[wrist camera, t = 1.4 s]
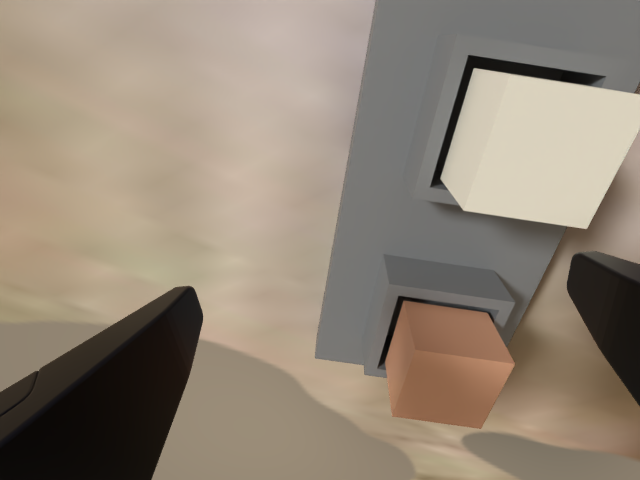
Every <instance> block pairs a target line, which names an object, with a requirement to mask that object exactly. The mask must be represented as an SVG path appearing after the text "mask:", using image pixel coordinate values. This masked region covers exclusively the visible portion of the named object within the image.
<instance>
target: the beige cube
mask: <svg viewBox="0 0 640 480" xmlns="http://www.w3.org/2000/svg"><path fill="white" fill-rule="evenodd" d="M639 129H640V94H634V93H628V92H622V91H617V90H611V89H605V88H599V87H593V86H587V85H580V84H574V83H567V82H561V81H555V80H548V79H542V78H535V77H529V76H522V75H516V74H509V73H503V72H497V71H490V70H484V69H477V68H474V69H473V72H472V76H471V79H470V82H469V86H468V89H467V92H466V96H465V99H464V102H463V105H462V109H461V112H460V115H459V119H458V122H457V125H456V129H455V132H454V135H453V139H452V142H451V145H450V149H449V152H448V155H447V158H446V162H445V165H444V168H443V172H442V175H441V178H440V179H441V180H442V182H443V183H444V184H445V186H446V187H447V189H448V190H449V191H450V193H451V194H452V195H453V197H454V198H455V200H456V201H457V202H458V204H459V205H460V206H461V208H462V209H463V211H469V212H476V213H482V214H489V215H496V216H502V217H509V218H516V219H522V220H529V221H536V222H543V223H549V224H556V225H563V226H569V227H576V228H583V229H587V228H588V226H589V224H590V222H591V220H592V218H593V216H594V214H595V213H596V211H597V209H598V207H599V205H600V203H601V201H602V199H603V197H604V196H605V194H606V192H607V190H608V188H609V186H610V184H611V182H612V180H613V179H614V177H615V175H616V173H617V171H618V169H619V167H620V165H621V163H622V162H623V160H624V158H625V156H626V154H627V152H628V150H629V148H630V146H631V145H632V143H633V141H634V139H635V137H636V135H637V133H638V131H639Z"/></svg>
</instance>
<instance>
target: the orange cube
mask: <svg viewBox="0 0 640 480" xmlns="http://www.w3.org/2000/svg"><path fill="white" fill-rule="evenodd" d="M514 365H515V363H514V361H513V359H512V357H511V355H510V353H509V352H508V350H507V348H506V346H505V344H504V342H503V341H502V339H501V337H500V335H499V333H498V331H497V329H496V328H495V326H494V324H493V322H492V320H491V318H490V316H489V315H488V313H486V312H479V311H472V310H465V309H458V308H451V307H444V306H437V305H431V304H424V303H417V302H410V301H403V304H402V308H401V311H400V314H399V318H398V321H397V324H396V328H395V331H394V334H393V337H392V341H391V344H390V347H389V351H388V354H387V357H386V361H385V366H386V373H387V381H388V388H389V396H390V403H391V411H392V416H393V417H401V418H408V419H415V420H422V421H429V422H436V423H444V424H451V425H458V426H465V427H472V428H479V429H481V428H482V426H483V424H484V422H485V420H486V418H487V416H488V415H489V413H490V411H491V409H492V407H493V405H494V403H495V401H496V399H497V398H498V396H499V394H500V392H501V390H502V388H503V386H504V384H505V382H506V381H507V379H508V377H509V375H510V373H511V371H512V369H513V367H514Z"/></svg>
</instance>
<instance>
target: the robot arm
mask: <svg viewBox="0 0 640 480" xmlns="http://www.w3.org/2000/svg"><path fill="white" fill-rule="evenodd" d="M567 290H568V293H569V295H570V297H571V299H572V301H573V303H574V304H575V306H576V308H577V310H578V312H579V313H580V315H581V317H582V319H583V321H584V322H585V324H586V326H587V328H588V330H589V331H590V333H591V335H592V337H593V339H594V341H595V342H596V344H597V345H598V347H599V349H600V350H601V352H602V353H603V355H604V356H605V358H606V359H607V361H608V362H609V364H610V365H611V366H612V368H613V369H614V371H615V372H616V374H617V375H618V376H619V378H620V379H621V381H622V382H623V383H624V385H625V386H626V388H627V389H628V391H629V392H630V393H631V395H632V396H633V398H634V399H635V400H636V402H637V403H638V405H639V406H640V264H637V263H633V262H630V261H627V260H623V259H620V258H617V257H614V256H610V255H607V254H604V253H600V252H597V251H590V252H579V253H576V254H575V255H574V256H573V257H572V260H571V265H570V270H569V275H568V280H567ZM202 323H203V313H202V309H201V306H200V303H199V300H198V297H197V294H196V292H195V289H194V288H193V287H191V286H182V287H175V288H173V289H172V290H170V291H168V292H167V293H165V294H163V295H162V296H160V297H158V298H157V299H155V300H153V301H152V302H150V303H148V304H147V305H145V306H143V307H142V308H140V309H138V310H137V311H135V312H133V313H132V314H130V315H128V316H127V317H125V318H123V319H122V320H120V321H118V322H117V323H115V324H113V325H112V326H110V327H108V328H107V329H105V330H103V331H102V332H100V333H98V334H97V335H95V336H93V337H92V338H90V339H88V340H87V341H85V342H83V343H82V344H80V345H78V346H77V347H75V348H73V349H72V350H70V351H68V352H67V353H65V354H63V355H62V356H60V357H58V358H57V359H55V360H53V361H52V362H50V363H49V364H47V365H45V366H43V367H42V368H41V369H40V370H39V371H35V372H33V373H32V374H30V375H28V376H27V377H25V378H23V379H22V380H20V381H18V382H17V383H15V384H13V385H11V386H10V387H8V388H6V389H5V390H3V391H2V392H0V480H151V479H152V476H153V474H154V471H155V468H156V465H157V463H158V460H159V457H160V455H161V452H162V449H163V447H164V444H165V441H166V438H167V435H168V433H169V430H170V427H171V425H172V422H173V419H174V417H175V414H176V411H177V408H178V405H179V403H180V400H181V397H182V394H183V391H184V389H185V386H186V384H187V381H188V378H189V375H190V371H191V368H192V363H193V359H194V356H195V352H196V347H197V343H198V339H199V335H200V331H201V327H202Z"/></svg>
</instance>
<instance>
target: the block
mask: <svg viewBox="0 0 640 480" xmlns="http://www.w3.org/2000/svg"><path fill="white" fill-rule="evenodd" d="M474 68H477V69H484V70H490V71H497V72H503V73H509V74H516V75H522V76H529V77H535V78H542V79H548V80H555V81H561V82H567V83H574V84H580V85H587V86H593V87H599V88H605V89H611V90H617V91H622V92H628V93H634V92H635V90H636V88H637V86H638V84H639V82H640V0H376V2H375V8H374V14H373V20H372V25H371V31H370V37H369V42H368V48H367V54H366V59H365V65H364V71H363V77H362V82H361V88H360V94H359V99H358V105H357V111H356V116H355V122H354V128H353V134H352V139H351V145H350V151H349V156H348V162H347V168H346V173H345V179H344V185H343V191H342V196H341V202H340V208H339V213H338V219H337V225H336V230H335V236H334V242H333V247H332V253H331V259H330V265H329V270H328V276H327V282H326V287H325V293H324V299H323V304H322V310H321V316H320V322H319V327H318V333H317V340H316V351H315V358H317V359H324V360H331V361H338V362H345V363H352V364H359V365H364V374H365V375H369V376H376V377H383V378H387V373H386V366H385V361H386V357H387V354H388V351H389V347H390V344H391V341H392V337H393V334H394V331H395V328H396V324H397V321H398V318H399V314H400V311H401V308H402V304H403V301H410V302H417V303H424V304H431V305H437V306H444V307H451V308H458V309H465V310H472V311H479V312H486V313H488V315H489V316H490V318H491V320H492V322H493V324H494V326H495V328H496V329H497V331H498V333H499V335H500V337H501V339H502V341H503V342H504V344H505V346H506V348H507V346H508V344H509V342H510V340H511V338H512V336H513V334H514V332H515V330H516V328H517V326H518V324H519V322H520V320H521V318H522V316H523V314H524V312H525V310H526V308H527V306H528V304H529V302H530V300H531V298H532V296H533V294H534V292H535V290H536V288H537V286H538V284H539V282H540V280H541V278H542V276H543V274H544V272H545V270H546V268H547V266H548V264H549V262H550V260H551V258H552V256H553V254H554V252H555V250H556V248H557V246H558V244H559V242H560V240H561V238H562V236H563V234H564V232H565V230H566V228H567V226H563V225H556V224H549V223H543V222H536V221H529V220H522V219H516V218H509V217H502V216H496V215H489V214H482V213H476V212H469V211H463V209H462V208H461V206H460V205H459V204H458V202H457V201H456V200H455V198H454V197H453V195H452V194H451V193H450V191H449V190H448V189H447V187H446V186H445V184H444V183H443V182H442V180H441V179H440V178H441V175H442V172H443V168H444V165H445V162H446V158H447V155H448V152H449V149H450V145H451V142H452V139H453V135H454V132H455V129H456V125H457V122H458V119H459V115H460V112H461V109H462V105H463V102H464V99H465V96H466V92H467V89H468V86H469V82H470V79H471V76H472V72H473V69H474Z"/></svg>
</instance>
